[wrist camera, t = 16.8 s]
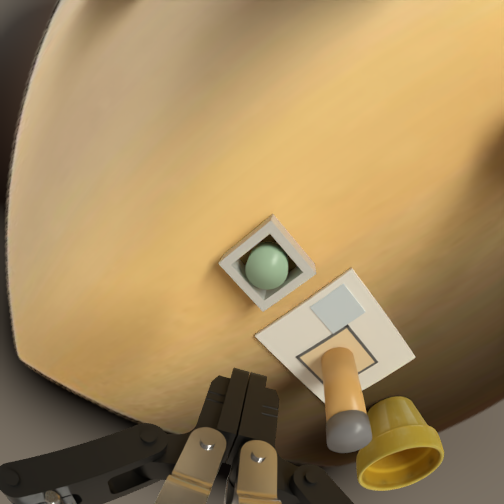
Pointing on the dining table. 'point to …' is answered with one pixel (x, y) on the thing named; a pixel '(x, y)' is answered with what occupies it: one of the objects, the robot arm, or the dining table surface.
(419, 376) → the dining table surface
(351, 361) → the shaker
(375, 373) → the sheet
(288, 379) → the dining table surface
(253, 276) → the button
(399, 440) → the plant pot
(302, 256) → the button housing
